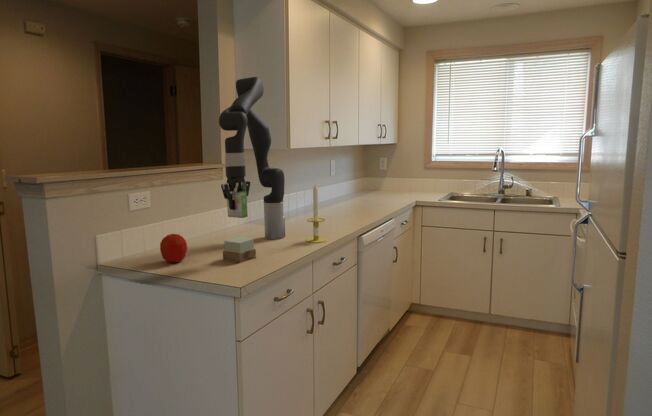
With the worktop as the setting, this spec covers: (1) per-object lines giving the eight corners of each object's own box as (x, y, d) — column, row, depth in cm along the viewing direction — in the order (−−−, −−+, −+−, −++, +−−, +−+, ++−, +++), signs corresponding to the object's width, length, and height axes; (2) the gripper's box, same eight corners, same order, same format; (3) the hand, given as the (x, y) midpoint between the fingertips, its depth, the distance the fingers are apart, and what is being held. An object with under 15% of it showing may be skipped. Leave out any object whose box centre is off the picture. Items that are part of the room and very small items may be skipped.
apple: (156, 261, 180) (154, 232, 178) (180, 257, 187) (178, 229, 185) (168, 266, 173) (166, 236, 171) (192, 261, 180) (191, 232, 178)
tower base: (239, 255, 189) (238, 246, 188) (255, 258, 184) (255, 249, 183) (223, 260, 181) (222, 250, 181) (239, 264, 176) (239, 253, 176)
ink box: (227, 217, 180) (225, 183, 178) (233, 215, 183) (232, 182, 181) (241, 218, 177) (240, 183, 175) (247, 216, 180) (246, 182, 178)
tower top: (238, 246, 187) (238, 237, 187) (253, 248, 183) (253, 238, 183) (224, 250, 181) (224, 240, 180) (240, 253, 177) (240, 243, 176)
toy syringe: (312, 237, 220) (311, 181, 216) (331, 239, 215) (330, 182, 211) (301, 241, 212) (300, 183, 208) (319, 243, 207) (318, 184, 203)
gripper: (241, 163, 185) (243, 205, 187) (214, 165, 173) (216, 210, 176) (255, 163, 181) (256, 207, 183) (228, 166, 169) (230, 212, 171)
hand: (237, 208), depth 179 cm, fingers closed on ink box, 4 cm apart
